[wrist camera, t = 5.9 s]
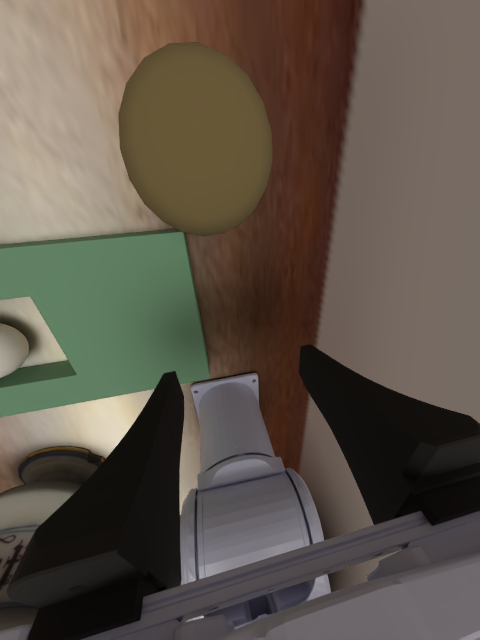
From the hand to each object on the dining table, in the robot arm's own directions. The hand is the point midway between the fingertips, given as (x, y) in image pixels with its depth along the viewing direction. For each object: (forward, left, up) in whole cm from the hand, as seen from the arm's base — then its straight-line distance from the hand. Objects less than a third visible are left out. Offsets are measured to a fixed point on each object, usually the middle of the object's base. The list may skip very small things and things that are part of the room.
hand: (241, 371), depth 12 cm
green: (0, +13, -10) cm, 16 cm away
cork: (+10, +1, -10) cm, 14 cm away
